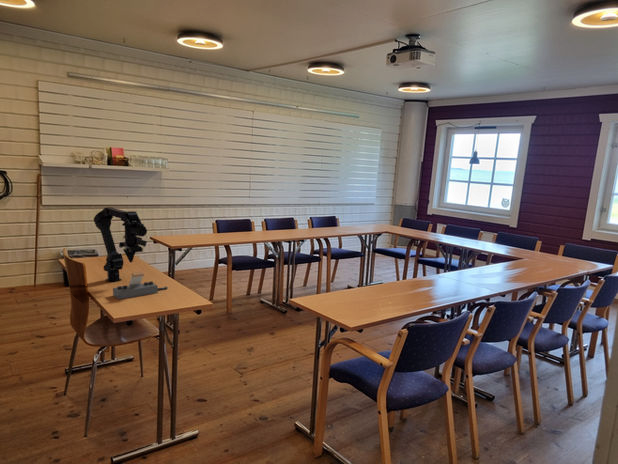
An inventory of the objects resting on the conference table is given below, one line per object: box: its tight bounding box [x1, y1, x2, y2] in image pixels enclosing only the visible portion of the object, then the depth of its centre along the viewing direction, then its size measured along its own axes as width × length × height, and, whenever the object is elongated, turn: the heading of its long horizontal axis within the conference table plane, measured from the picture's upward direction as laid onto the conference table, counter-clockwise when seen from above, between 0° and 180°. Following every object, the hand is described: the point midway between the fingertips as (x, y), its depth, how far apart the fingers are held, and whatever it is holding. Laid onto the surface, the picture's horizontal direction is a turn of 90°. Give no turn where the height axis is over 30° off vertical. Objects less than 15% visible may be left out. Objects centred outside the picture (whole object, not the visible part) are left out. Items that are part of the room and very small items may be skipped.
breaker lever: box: [128, 270, 145, 287], centre depth 222 cm, size 2×5×9 cm
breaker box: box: [112, 281, 168, 300], centre depth 226 cm, size 8×27×5 cm, turn 133°
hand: (131, 262), depth 238 cm, fingers closed
